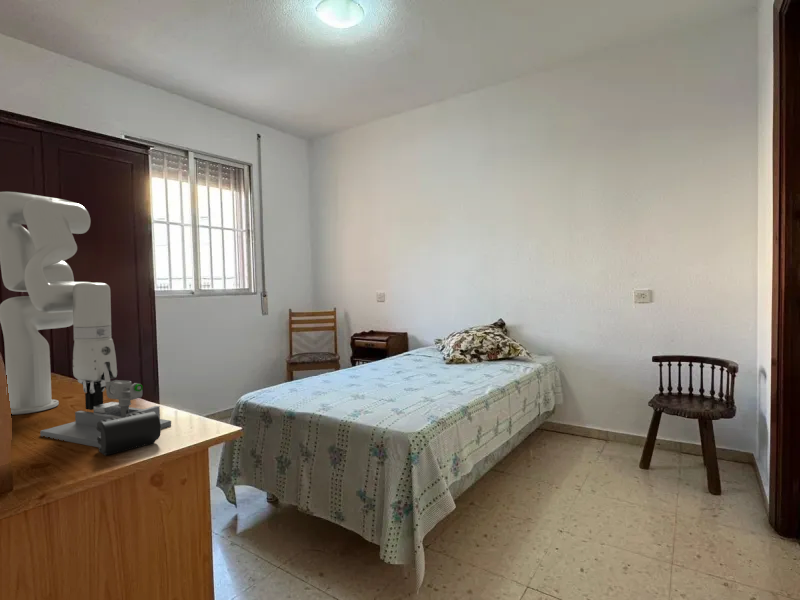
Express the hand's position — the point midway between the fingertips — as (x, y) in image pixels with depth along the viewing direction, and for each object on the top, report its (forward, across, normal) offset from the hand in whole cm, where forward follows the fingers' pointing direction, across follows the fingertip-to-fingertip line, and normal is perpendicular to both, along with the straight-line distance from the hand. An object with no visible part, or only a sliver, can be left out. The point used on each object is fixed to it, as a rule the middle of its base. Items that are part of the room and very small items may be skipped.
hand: (94, 408), depth 107 cm
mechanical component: (+3, -11, 0) cm, 12 cm away
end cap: (+4, -24, +8) cm, 26 cm away
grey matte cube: (+3, -5, 0) cm, 6 cm away
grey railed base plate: (+4, -8, +2) cm, 9 cm away
